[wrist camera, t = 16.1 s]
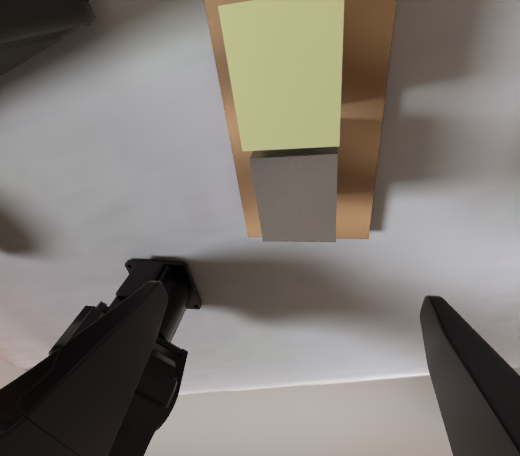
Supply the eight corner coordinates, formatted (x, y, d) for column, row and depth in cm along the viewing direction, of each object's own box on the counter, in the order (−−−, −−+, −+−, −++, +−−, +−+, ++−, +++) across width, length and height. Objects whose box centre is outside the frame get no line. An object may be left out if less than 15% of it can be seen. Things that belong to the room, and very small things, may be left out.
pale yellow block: (336, 104, 16) (339, 146, 12) (265, 110, 17) (242, 151, 13) (338, -10, 13) (344, -15, 9) (253, 4, 14) (217, 5, 10)
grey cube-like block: (334, 194, 20) (335, 242, 16) (275, 195, 21) (262, 241, 17) (335, 118, 17) (337, 154, 13) (266, 123, 18) (249, 158, 14)
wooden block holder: (366, 230, 22) (379, 305, 17) (250, 229, 24) (228, 296, 19) (429, -325, 9) (571, -784, 4) (169, -231, 11) (20, -447, 6)
